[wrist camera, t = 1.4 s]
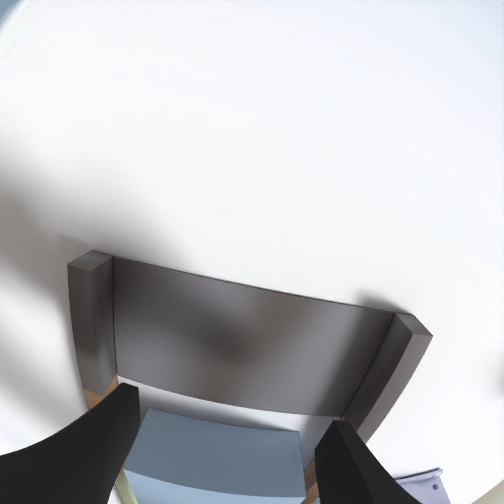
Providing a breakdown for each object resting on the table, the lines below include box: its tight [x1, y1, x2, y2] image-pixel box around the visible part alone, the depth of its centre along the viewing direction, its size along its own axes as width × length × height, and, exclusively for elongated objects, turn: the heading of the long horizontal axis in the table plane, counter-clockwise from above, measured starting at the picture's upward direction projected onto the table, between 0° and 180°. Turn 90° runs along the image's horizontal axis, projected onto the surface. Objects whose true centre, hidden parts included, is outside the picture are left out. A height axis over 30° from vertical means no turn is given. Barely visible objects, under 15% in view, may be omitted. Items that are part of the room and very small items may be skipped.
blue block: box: [123, 408, 306, 504], centre depth 13 cm, size 9×6×5 cm, turn 81°
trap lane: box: [68, 250, 433, 504], centre depth 15 cm, size 15×35×2 cm, turn 168°
